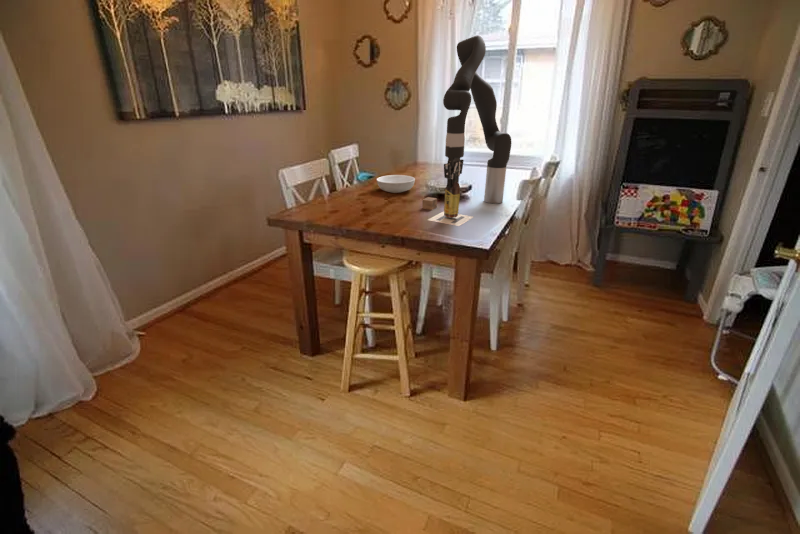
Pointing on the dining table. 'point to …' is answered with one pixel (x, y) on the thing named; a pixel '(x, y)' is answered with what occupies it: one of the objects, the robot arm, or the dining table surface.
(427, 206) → the walnut block
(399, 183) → the serving bowl
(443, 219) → the letter card
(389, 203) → the dining table surface
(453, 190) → the sauce bottle
